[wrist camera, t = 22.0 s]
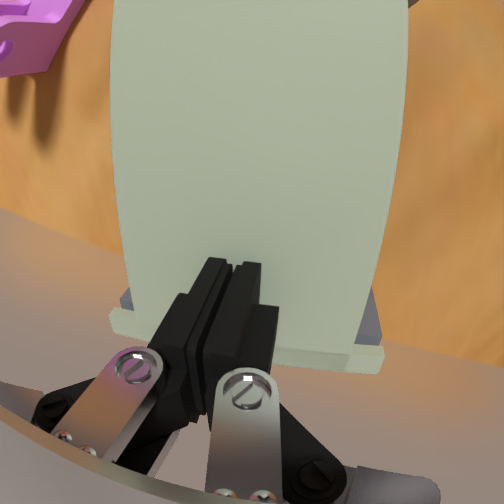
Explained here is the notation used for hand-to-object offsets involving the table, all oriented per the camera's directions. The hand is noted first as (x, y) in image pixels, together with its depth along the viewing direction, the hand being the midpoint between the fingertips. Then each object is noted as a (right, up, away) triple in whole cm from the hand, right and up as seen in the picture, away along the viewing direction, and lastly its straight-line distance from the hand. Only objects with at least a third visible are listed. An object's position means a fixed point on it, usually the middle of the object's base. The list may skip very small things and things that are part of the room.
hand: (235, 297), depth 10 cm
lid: (0, +4, -1) cm, 5 cm away
